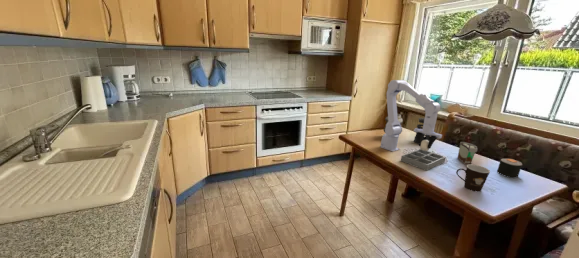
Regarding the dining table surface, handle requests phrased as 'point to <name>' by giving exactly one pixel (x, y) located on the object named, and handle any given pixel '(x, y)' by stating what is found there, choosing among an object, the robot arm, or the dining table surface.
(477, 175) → the coffee mug
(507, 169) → the sushi
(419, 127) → the french press
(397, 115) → the apothecary jar
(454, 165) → the dining table surface
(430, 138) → the robot arm
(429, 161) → the grey compartment tray
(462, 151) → the food container
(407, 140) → the dining table surface
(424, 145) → the egg
